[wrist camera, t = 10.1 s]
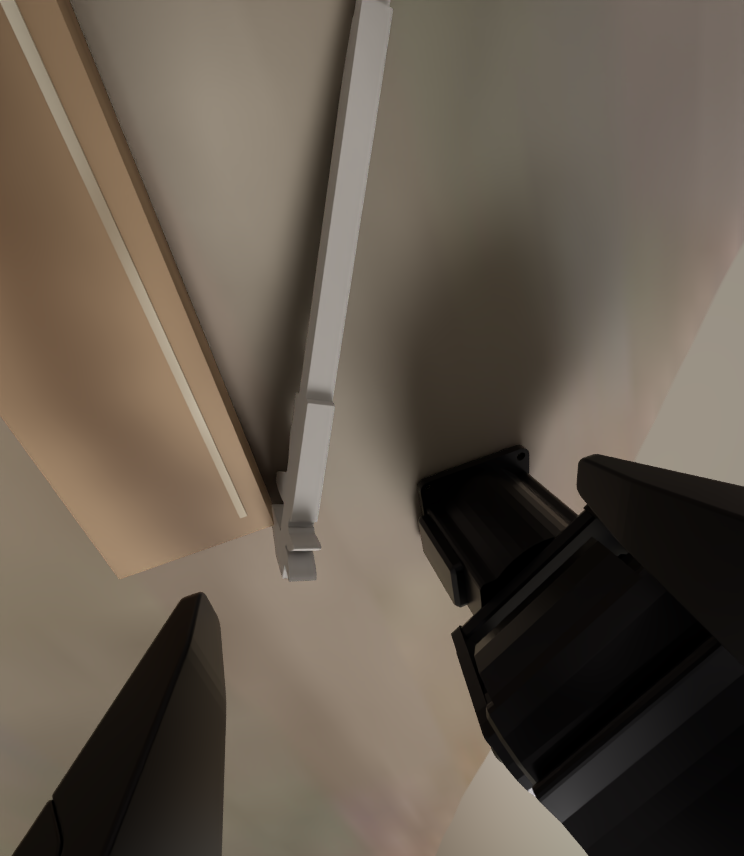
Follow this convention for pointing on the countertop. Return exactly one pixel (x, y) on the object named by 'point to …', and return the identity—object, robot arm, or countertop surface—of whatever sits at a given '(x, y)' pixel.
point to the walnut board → (104, 320)
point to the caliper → (331, 292)
